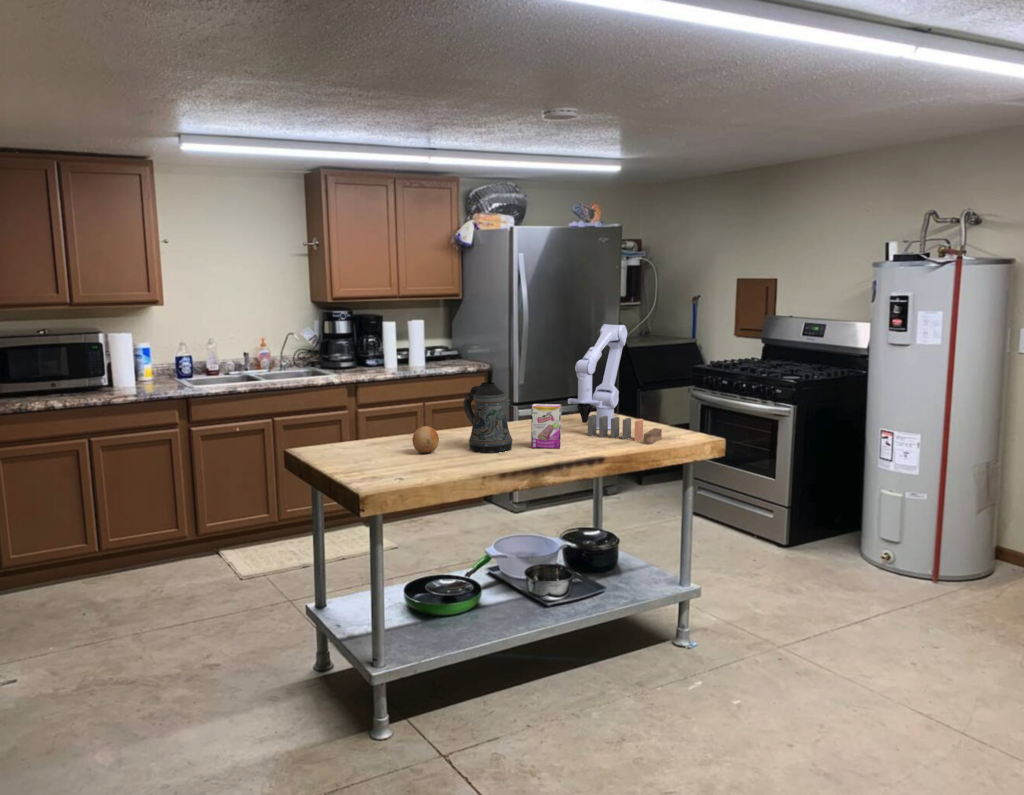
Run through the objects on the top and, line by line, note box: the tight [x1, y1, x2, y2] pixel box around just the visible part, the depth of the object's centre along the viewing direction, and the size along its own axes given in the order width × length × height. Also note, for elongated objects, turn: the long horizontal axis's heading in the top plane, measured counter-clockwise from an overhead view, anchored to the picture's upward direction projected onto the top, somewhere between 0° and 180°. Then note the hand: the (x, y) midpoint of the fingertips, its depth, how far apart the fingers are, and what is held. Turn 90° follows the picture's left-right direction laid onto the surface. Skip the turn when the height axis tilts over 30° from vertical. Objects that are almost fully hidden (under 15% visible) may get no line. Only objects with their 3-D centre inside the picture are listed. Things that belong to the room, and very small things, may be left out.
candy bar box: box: [530, 403, 562, 450], centre depth 303 cm, size 11×5×16 cm, turn 84°
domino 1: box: [587, 414, 597, 437], centre depth 326 cm, size 2×5×8 cm, turn 150°
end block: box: [643, 427, 663, 445], centre depth 313 cm, size 3×12×4 cm, turn 150°
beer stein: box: [463, 381, 513, 454], centre depth 301 cm, size 16×19×25 cm
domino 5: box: [634, 418, 644, 442], centre depth 316 cm, size 2×5×8 cm, turn 150°
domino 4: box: [621, 417, 632, 440], centre depth 318 cm, size 2×5×8 cm, turn 150°
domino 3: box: [610, 416, 620, 439], centre depth 321 cm, size 2×5×8 cm, turn 150°
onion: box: [412, 425, 440, 454], centre depth 296 cm, size 10×10×10 cm
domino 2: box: [598, 416, 609, 438], centre depth 323 cm, size 2×5×8 cm, turn 150°
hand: (584, 422), depth 327 cm, fingers closed
